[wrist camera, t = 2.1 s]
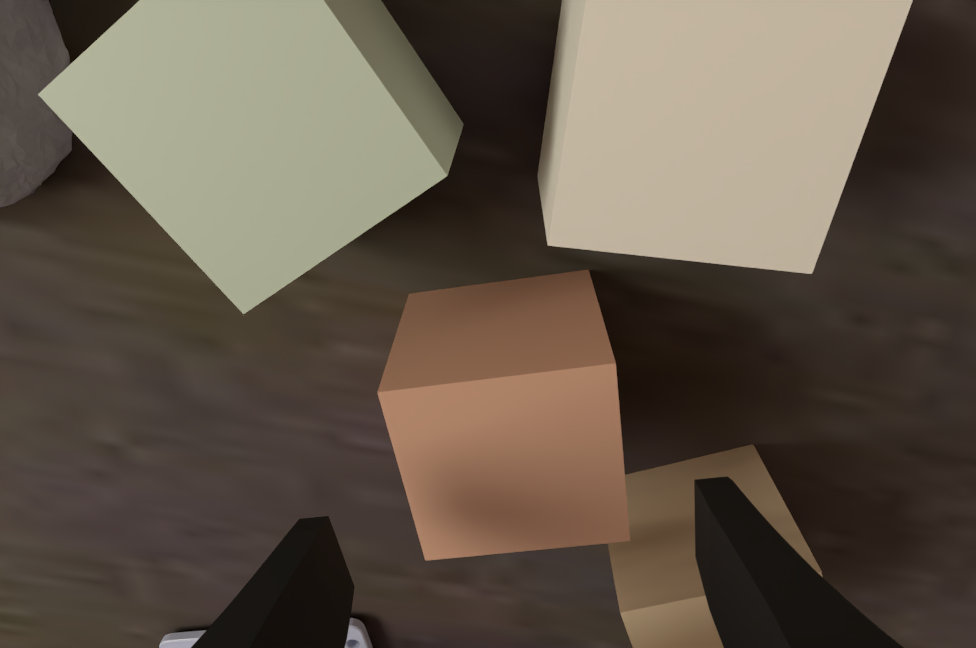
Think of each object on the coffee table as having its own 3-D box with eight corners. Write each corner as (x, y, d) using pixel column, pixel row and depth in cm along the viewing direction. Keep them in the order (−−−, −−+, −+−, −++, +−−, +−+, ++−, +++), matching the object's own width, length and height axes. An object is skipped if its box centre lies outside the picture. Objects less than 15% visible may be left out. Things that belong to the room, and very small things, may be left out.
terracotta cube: (602, 417, 20) (629, 540, 15) (443, 435, 20) (425, 560, 16) (588, 268, 17) (615, 363, 13) (409, 292, 18) (377, 392, 14)
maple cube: (773, 552, 22) (839, 693, 18) (631, 582, 23) (660, 724, 19) (752, 442, 20) (821, 571, 16) (596, 480, 21) (620, 612, 16)
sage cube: (464, 123, 16) (447, 175, 11) (311, 230, 17) (243, 314, 13) (332, -74, 14) (251, -103, 10) (173, 63, 15) (37, 94, 11)
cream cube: (730, 196, 16) (812, 274, 12) (537, 175, 16) (547, 245, 12) (793, -24, 14) (922, -29, 10) (568, -51, 14) (596, -67, 10)
